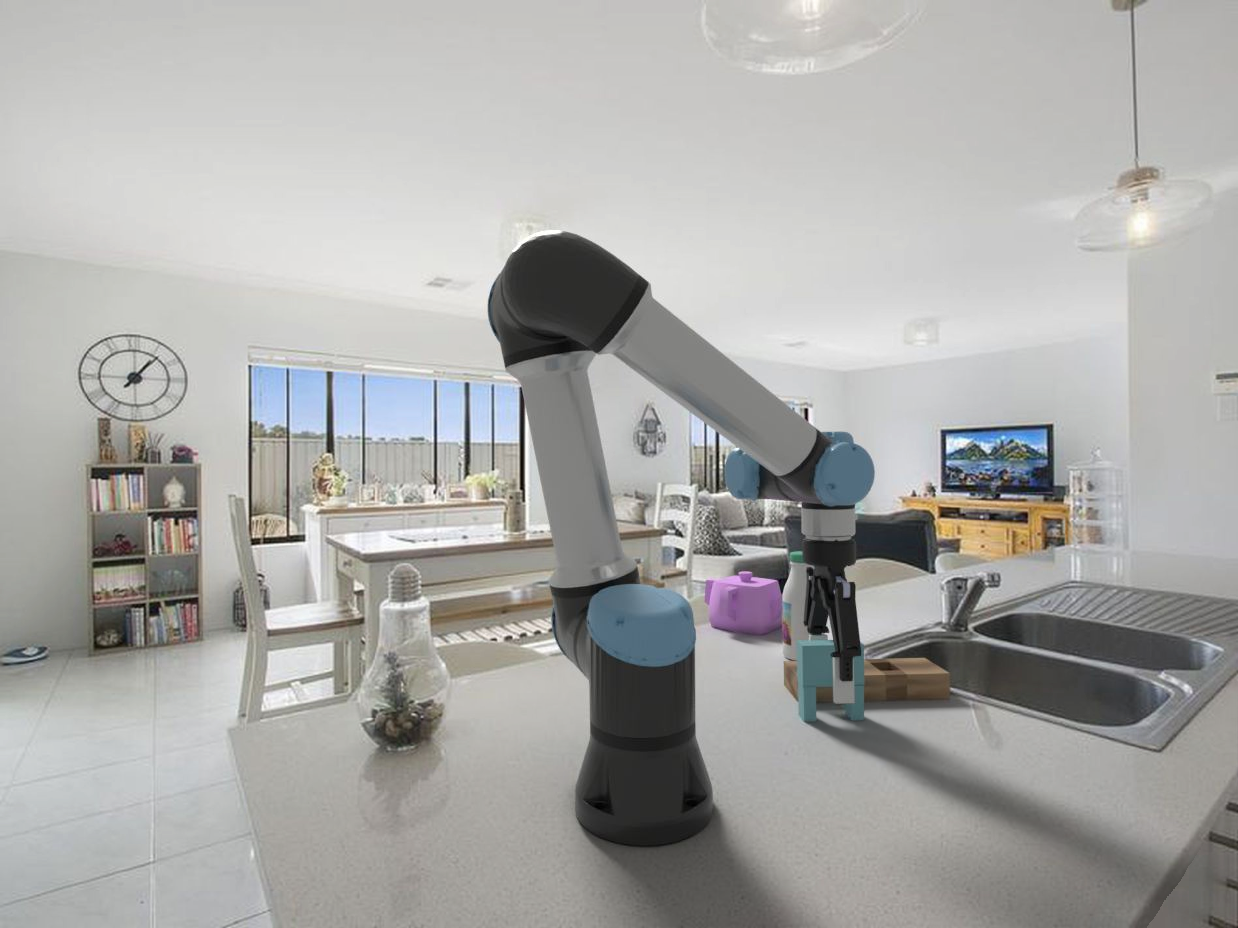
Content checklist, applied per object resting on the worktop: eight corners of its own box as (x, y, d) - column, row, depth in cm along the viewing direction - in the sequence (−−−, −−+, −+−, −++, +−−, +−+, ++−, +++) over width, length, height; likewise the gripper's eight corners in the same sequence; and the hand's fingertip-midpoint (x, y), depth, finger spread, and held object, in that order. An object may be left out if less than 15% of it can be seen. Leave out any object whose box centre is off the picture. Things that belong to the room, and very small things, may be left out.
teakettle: (701, 618, 156) (700, 567, 156) (770, 615, 158) (769, 564, 158) (719, 637, 139) (719, 580, 139) (796, 634, 141) (795, 577, 141)
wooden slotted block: (950, 698, 102) (949, 673, 102) (798, 702, 101) (798, 676, 101) (924, 681, 110) (924, 657, 110) (784, 684, 109) (783, 660, 109)
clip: (864, 719, 94) (863, 644, 94) (803, 721, 94) (802, 645, 94) (857, 712, 97) (856, 639, 97) (797, 714, 97) (796, 640, 97)
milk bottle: (829, 654, 126) (828, 551, 126) (818, 665, 119) (816, 556, 119) (790, 648, 130) (788, 548, 130) (777, 659, 123) (775, 553, 123)
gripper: (887, 546, 84) (889, 718, 84) (827, 528, 107) (829, 664, 107) (830, 547, 84) (832, 720, 84) (782, 529, 106) (783, 665, 107)
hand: (830, 688), depth 95 cm, fingers open, 10 cm apart
